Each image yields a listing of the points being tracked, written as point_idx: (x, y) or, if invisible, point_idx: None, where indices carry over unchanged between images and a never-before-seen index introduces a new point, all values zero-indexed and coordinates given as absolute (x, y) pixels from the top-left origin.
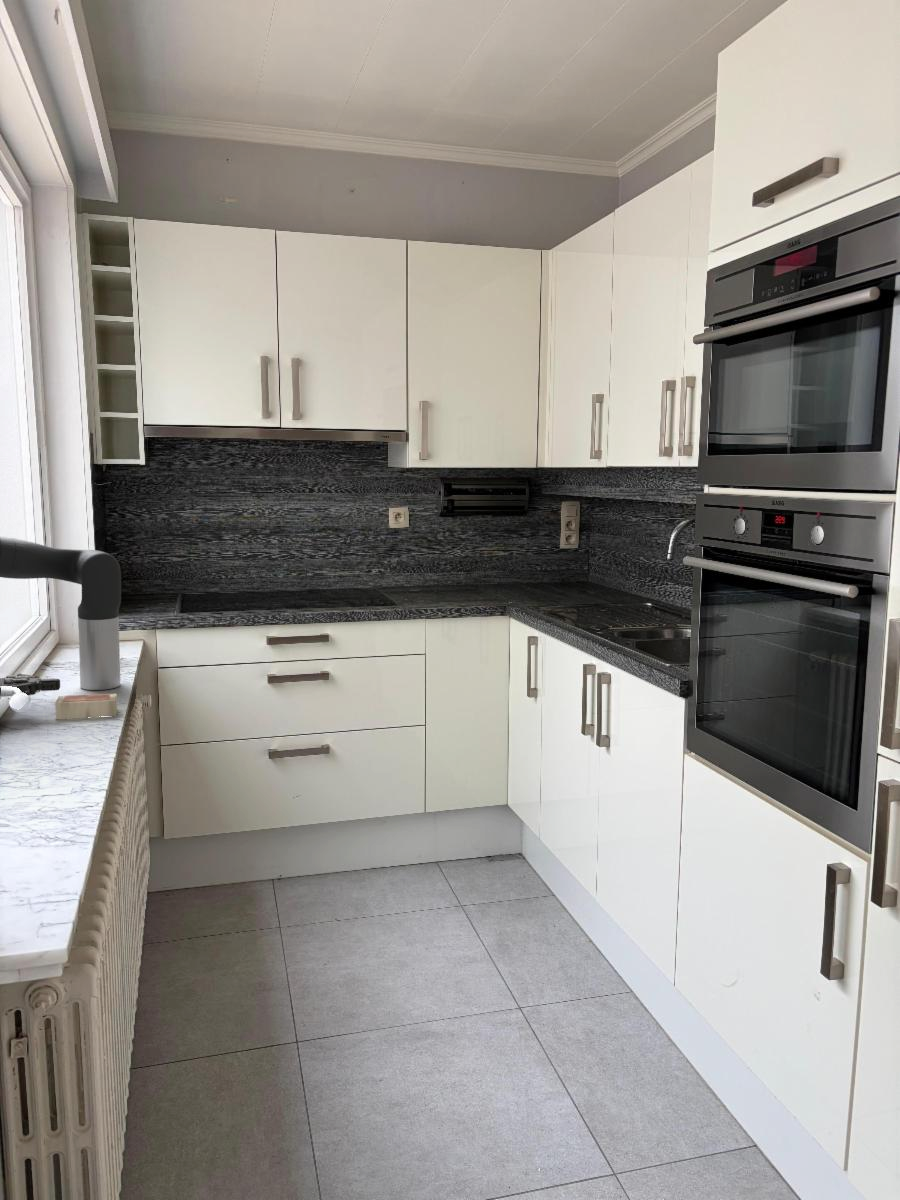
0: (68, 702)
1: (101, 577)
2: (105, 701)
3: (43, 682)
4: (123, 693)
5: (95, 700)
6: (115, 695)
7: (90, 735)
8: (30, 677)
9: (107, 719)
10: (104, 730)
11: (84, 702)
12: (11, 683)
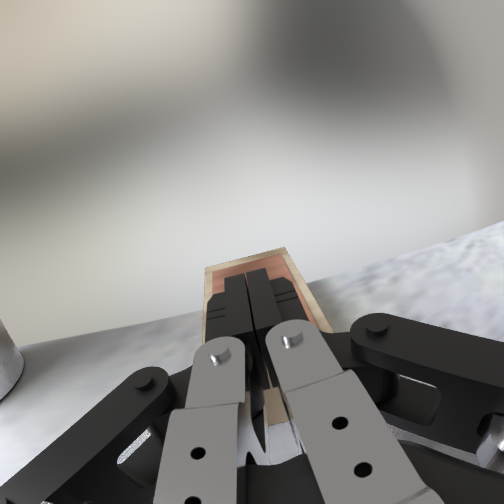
0: (323, 317)
1: None
2: (290, 259)
3: (282, 321)
4: (69, 338)
5: (289, 271)
6: (226, 263)
7: (458, 266)
8: (130, 427)
9: (319, 293)
10: (413, 264)
11: (307, 288)
12: (453, 495)
